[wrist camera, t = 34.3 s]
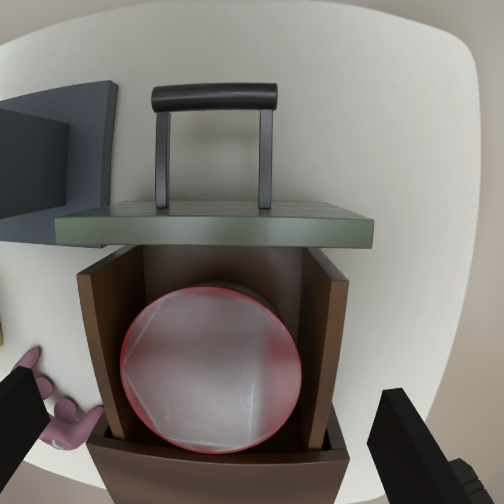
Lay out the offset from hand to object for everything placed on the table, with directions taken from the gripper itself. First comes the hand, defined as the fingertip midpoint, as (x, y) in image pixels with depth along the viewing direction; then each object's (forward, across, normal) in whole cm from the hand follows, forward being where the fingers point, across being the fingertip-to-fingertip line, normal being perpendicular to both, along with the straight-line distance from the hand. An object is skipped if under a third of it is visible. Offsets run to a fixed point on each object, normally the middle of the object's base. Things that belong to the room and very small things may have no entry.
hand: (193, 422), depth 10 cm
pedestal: (+14, -14, +10) cm, 22 cm away
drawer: (+13, 0, +2) cm, 13 cm away
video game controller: (+14, -17, -12) cm, 25 cm away
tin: (+10, 0, -3) cm, 11 cm away
